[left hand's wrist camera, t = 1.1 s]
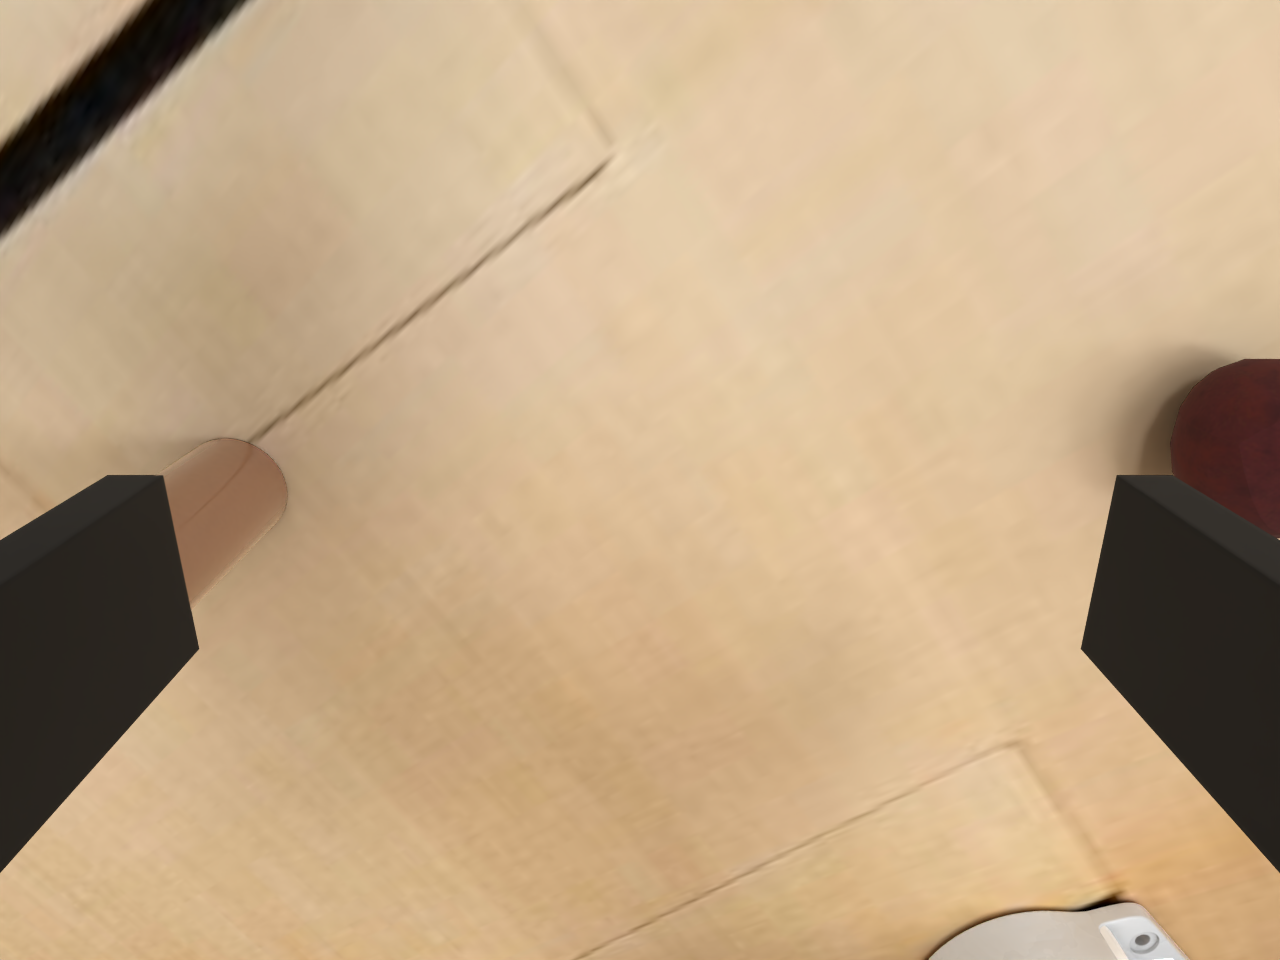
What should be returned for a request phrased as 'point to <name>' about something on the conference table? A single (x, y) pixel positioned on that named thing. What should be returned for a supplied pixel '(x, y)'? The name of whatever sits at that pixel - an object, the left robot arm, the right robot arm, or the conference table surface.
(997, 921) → the right robot arm
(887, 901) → the conference table surface
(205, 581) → the jar
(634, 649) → the conference table surface
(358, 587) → the conference table surface
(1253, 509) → the dark red ball
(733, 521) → the conference table surface
